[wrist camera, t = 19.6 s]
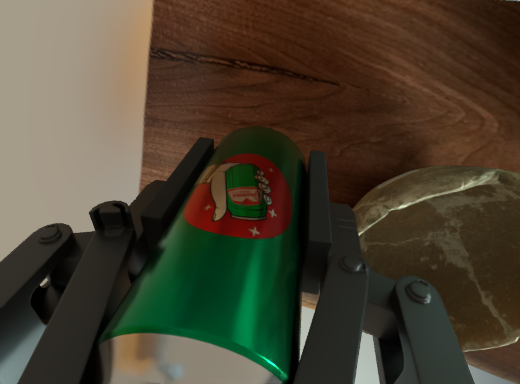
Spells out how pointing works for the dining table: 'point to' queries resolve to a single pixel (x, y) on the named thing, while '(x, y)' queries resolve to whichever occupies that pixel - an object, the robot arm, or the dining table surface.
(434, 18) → the dining table surface
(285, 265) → the soda can
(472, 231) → the bowl
